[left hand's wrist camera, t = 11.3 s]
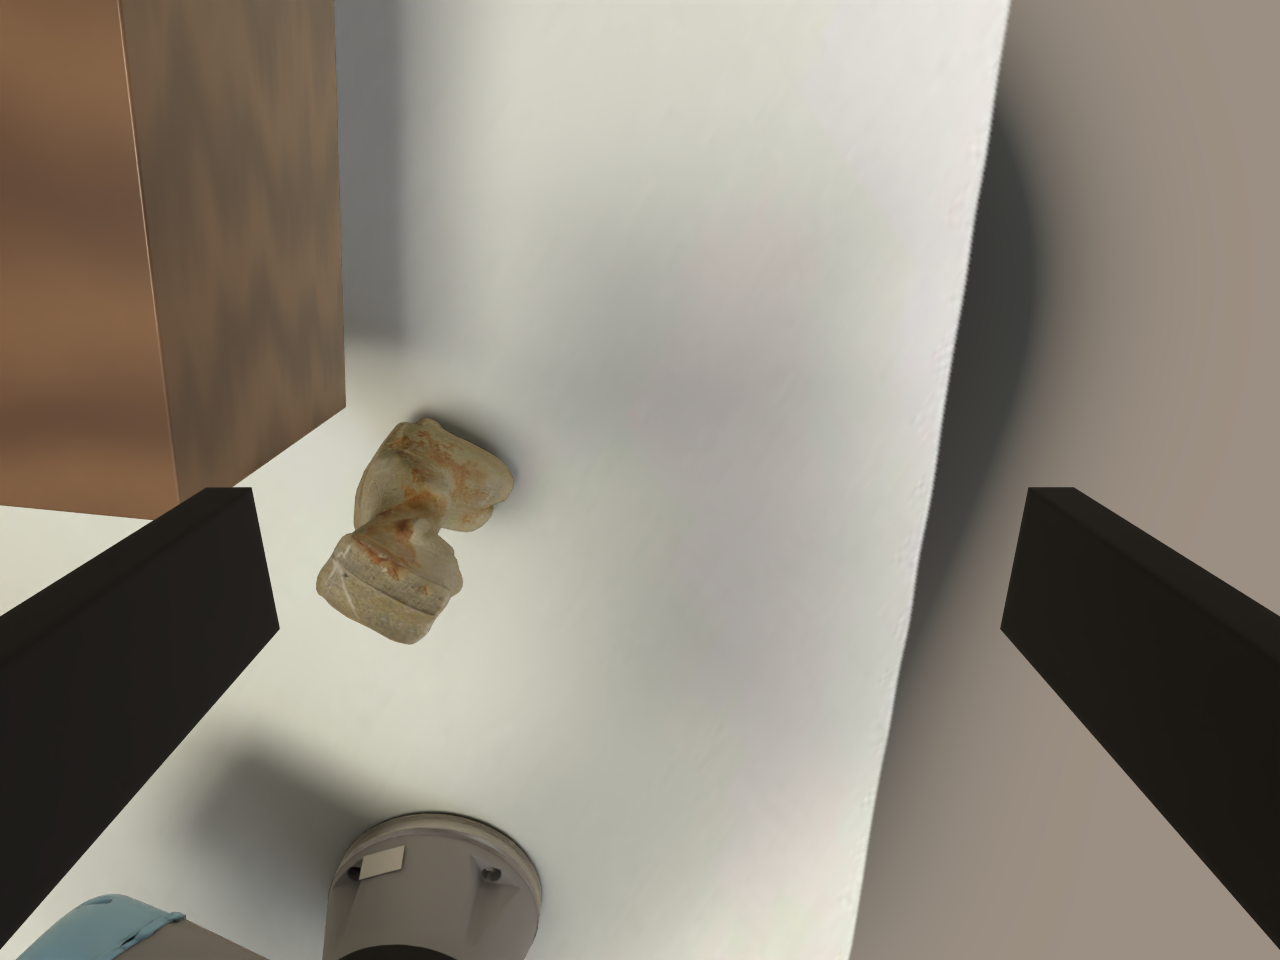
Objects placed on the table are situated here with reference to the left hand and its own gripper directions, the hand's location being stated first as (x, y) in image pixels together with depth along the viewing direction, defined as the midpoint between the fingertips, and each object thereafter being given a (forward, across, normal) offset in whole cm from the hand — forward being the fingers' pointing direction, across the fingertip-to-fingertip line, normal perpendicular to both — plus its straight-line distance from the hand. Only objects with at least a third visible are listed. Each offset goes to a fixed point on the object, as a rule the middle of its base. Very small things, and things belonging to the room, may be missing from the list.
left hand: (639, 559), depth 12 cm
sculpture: (+29, +11, +8) cm, 32 cm away
